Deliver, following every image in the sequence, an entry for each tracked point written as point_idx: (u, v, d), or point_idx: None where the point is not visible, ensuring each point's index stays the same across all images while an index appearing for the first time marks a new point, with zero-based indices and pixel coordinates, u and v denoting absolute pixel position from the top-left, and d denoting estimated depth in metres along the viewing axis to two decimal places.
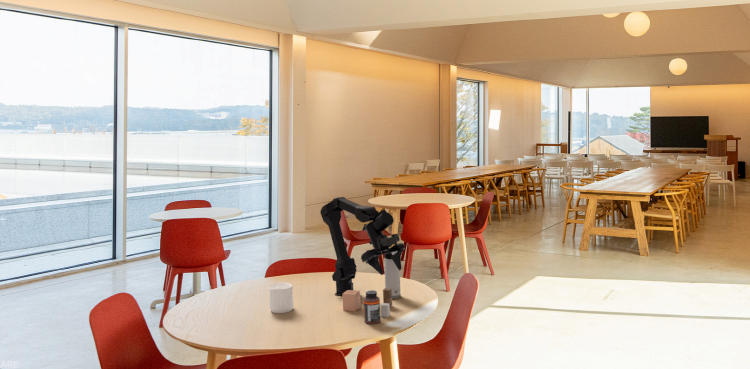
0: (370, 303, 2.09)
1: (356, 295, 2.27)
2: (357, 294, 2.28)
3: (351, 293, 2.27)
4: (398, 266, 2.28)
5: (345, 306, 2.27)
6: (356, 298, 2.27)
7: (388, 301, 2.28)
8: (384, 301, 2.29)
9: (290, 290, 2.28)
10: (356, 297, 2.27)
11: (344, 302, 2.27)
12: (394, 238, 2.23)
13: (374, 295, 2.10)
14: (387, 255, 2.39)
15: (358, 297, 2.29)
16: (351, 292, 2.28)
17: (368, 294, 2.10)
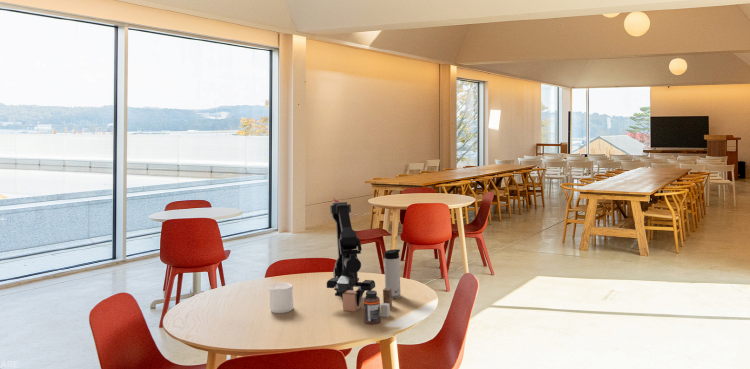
0: (370, 303, 2.09)
1: (356, 295, 2.27)
2: None
3: (351, 293, 2.27)
4: None
5: (345, 306, 2.27)
6: (356, 298, 2.27)
7: (388, 301, 2.28)
8: (384, 301, 2.29)
9: (290, 290, 2.28)
10: (356, 297, 2.27)
11: (344, 302, 2.27)
12: (344, 285, 2.20)
13: (374, 295, 2.10)
14: (387, 255, 2.39)
15: None
16: (351, 292, 2.28)
17: (368, 294, 2.10)
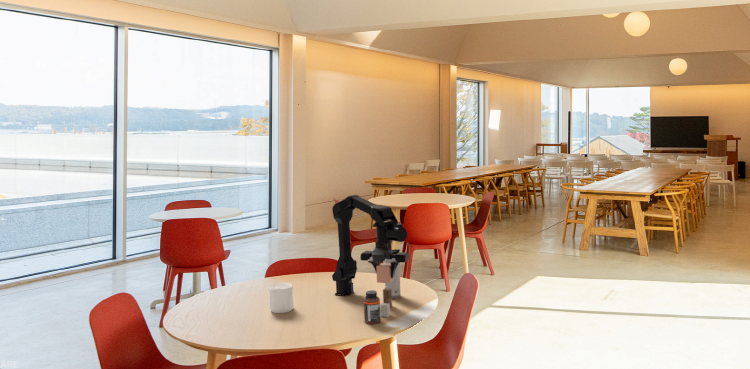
0: (370, 303, 2.09)
1: (390, 267, 2.26)
2: None
3: (385, 265, 2.26)
4: None
5: (379, 278, 2.27)
6: (390, 271, 2.27)
7: (388, 301, 2.28)
8: (384, 301, 2.29)
9: (290, 290, 2.28)
10: (390, 269, 2.26)
11: (378, 274, 2.27)
12: (379, 256, 2.20)
13: (374, 295, 2.10)
14: None
15: None
16: (385, 265, 2.28)
17: (368, 294, 2.10)
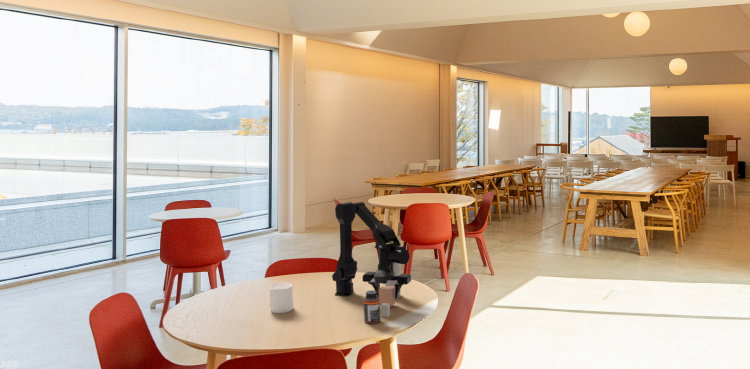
0: (370, 303, 2.09)
1: (392, 290, 2.28)
2: (393, 289, 2.29)
3: (387, 288, 2.28)
4: None
5: (381, 301, 2.28)
6: (392, 294, 2.28)
7: None
8: None
9: (290, 290, 2.28)
10: (392, 292, 2.28)
11: (380, 297, 2.28)
12: (381, 278, 2.21)
13: (374, 295, 2.10)
14: None
15: (394, 292, 2.30)
16: (387, 288, 2.29)
17: (368, 294, 2.10)
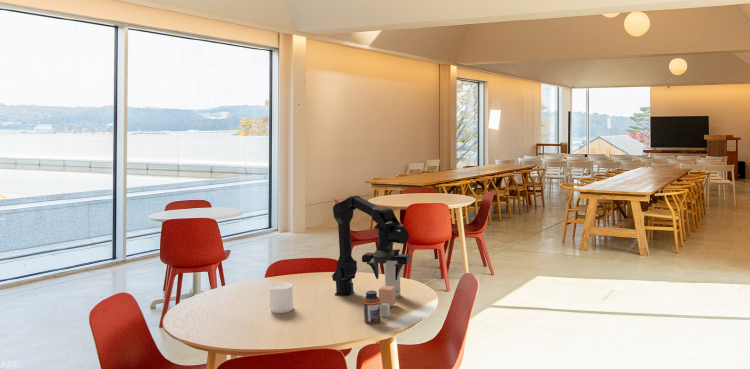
0: (370, 303, 2.09)
1: (392, 290, 2.28)
2: (393, 289, 2.29)
3: (387, 288, 2.28)
4: None
5: (381, 301, 2.28)
6: (392, 294, 2.28)
7: None
8: None
9: (290, 290, 2.28)
10: (392, 292, 2.28)
11: (380, 297, 2.28)
12: (380, 258, 2.20)
13: (374, 295, 2.10)
14: None
15: (394, 292, 2.30)
16: (387, 288, 2.29)
17: (368, 294, 2.10)
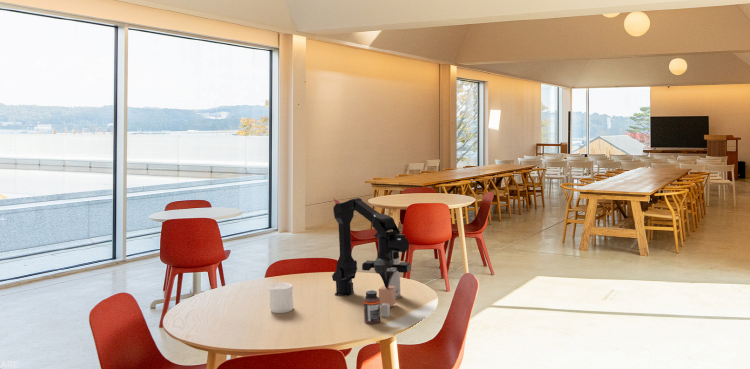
0: (370, 303, 2.09)
1: (392, 290, 2.28)
2: (393, 289, 2.29)
3: (387, 288, 2.28)
4: None
5: (381, 301, 2.28)
6: (392, 294, 2.28)
7: None
8: None
9: (290, 290, 2.28)
10: (392, 292, 2.28)
11: (380, 297, 2.28)
12: (381, 266, 2.20)
13: (374, 295, 2.10)
14: None
15: (394, 292, 2.30)
16: (387, 288, 2.29)
17: (368, 294, 2.10)
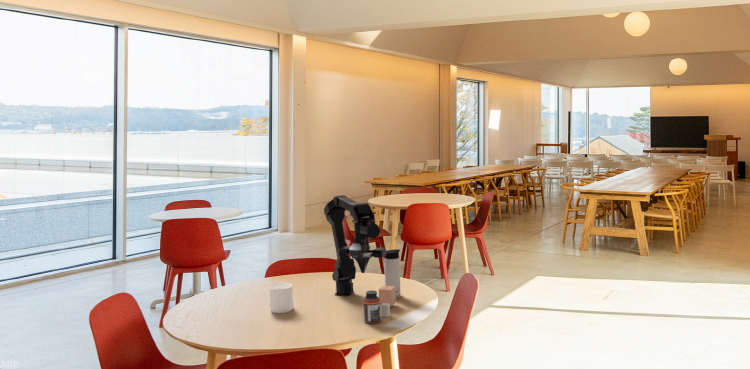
0: (370, 303, 2.09)
1: (392, 290, 2.28)
2: (393, 289, 2.29)
3: (387, 288, 2.28)
4: None
5: (381, 301, 2.28)
6: (392, 294, 2.28)
7: None
8: None
9: (290, 290, 2.28)
10: (392, 292, 2.28)
11: (380, 297, 2.28)
12: (356, 251, 2.23)
13: (374, 295, 2.10)
14: (387, 255, 2.39)
15: (394, 292, 2.30)
16: (387, 288, 2.29)
17: (368, 294, 2.10)
